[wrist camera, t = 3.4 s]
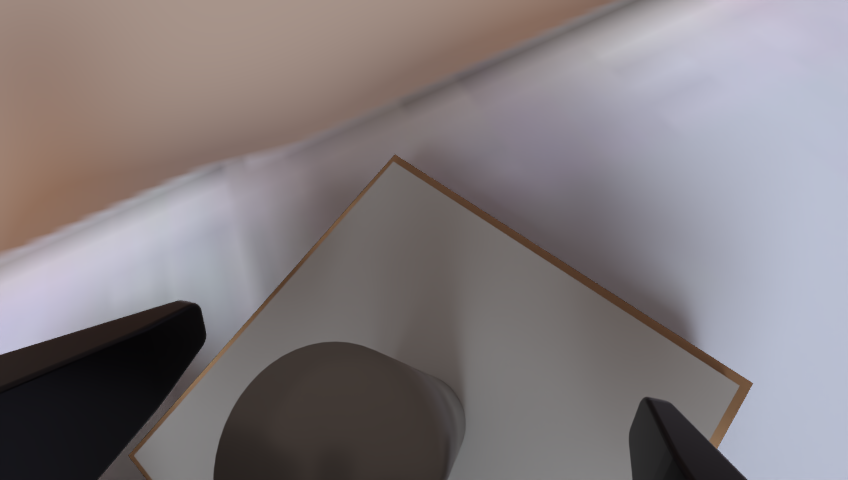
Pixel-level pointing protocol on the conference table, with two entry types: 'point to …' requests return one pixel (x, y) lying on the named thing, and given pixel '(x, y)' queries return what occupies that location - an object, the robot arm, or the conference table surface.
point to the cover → (429, 363)
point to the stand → (710, 361)
